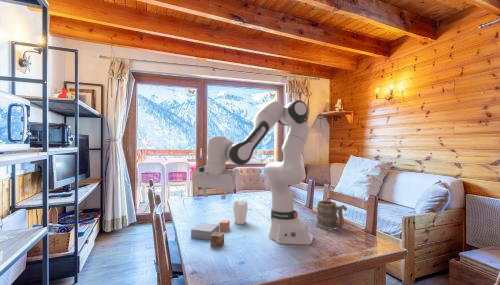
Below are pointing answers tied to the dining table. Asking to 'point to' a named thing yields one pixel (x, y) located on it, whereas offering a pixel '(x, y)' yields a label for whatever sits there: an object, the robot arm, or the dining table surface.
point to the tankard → (329, 215)
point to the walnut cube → (217, 239)
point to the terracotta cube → (224, 225)
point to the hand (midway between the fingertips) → (214, 198)
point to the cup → (240, 212)
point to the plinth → (204, 230)
